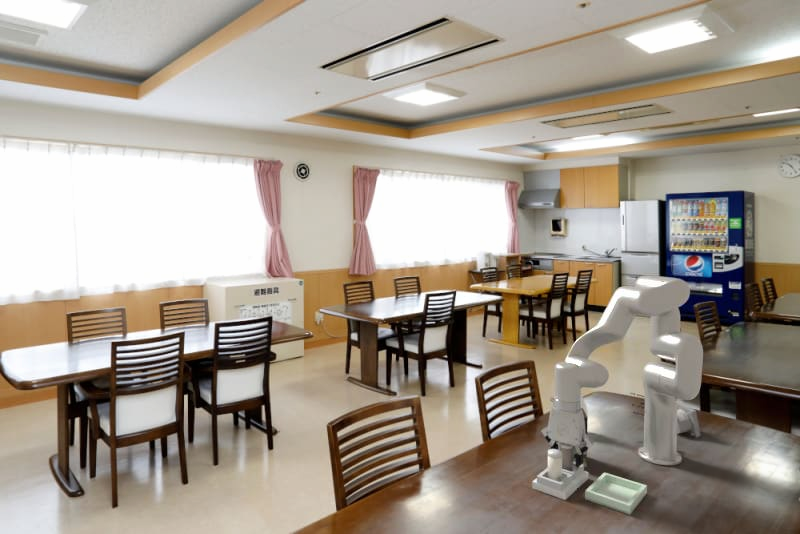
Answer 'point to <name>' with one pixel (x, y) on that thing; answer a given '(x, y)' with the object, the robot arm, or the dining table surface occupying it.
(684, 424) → the voltmeter
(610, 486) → the parts tray
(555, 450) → the fuse block
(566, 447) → the cylinder
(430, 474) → the dining table surface
